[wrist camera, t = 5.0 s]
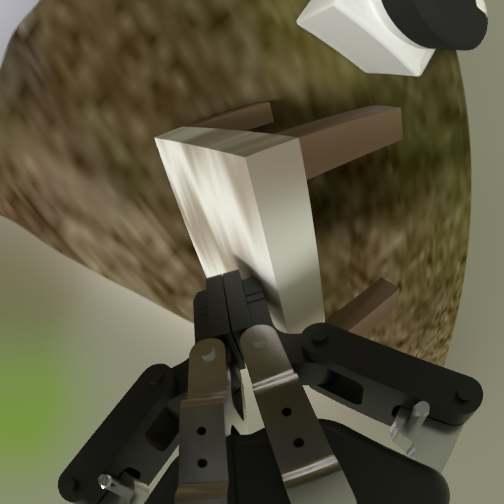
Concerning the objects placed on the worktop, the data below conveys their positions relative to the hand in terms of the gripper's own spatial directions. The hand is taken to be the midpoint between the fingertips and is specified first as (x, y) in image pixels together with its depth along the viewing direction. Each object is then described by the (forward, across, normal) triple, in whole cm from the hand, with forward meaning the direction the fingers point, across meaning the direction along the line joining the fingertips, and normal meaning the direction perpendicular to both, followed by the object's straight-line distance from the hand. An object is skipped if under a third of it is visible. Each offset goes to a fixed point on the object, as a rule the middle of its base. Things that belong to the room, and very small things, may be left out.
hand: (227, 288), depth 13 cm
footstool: (+10, -1, 0) cm, 10 cm away
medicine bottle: (+12, -14, -12) cm, 22 cm away
